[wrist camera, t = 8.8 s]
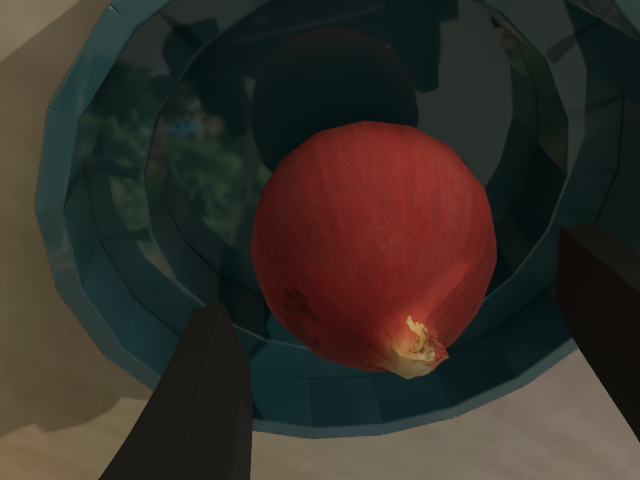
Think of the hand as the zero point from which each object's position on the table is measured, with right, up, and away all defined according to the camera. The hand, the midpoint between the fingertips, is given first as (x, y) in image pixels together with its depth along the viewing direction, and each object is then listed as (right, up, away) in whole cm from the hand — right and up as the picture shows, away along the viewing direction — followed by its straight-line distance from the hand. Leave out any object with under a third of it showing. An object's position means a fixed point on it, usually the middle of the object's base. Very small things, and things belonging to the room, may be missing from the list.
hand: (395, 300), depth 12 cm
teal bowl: (-1, +4, +5) cm, 6 cm away
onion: (-1, +4, +5) cm, 6 cm away
